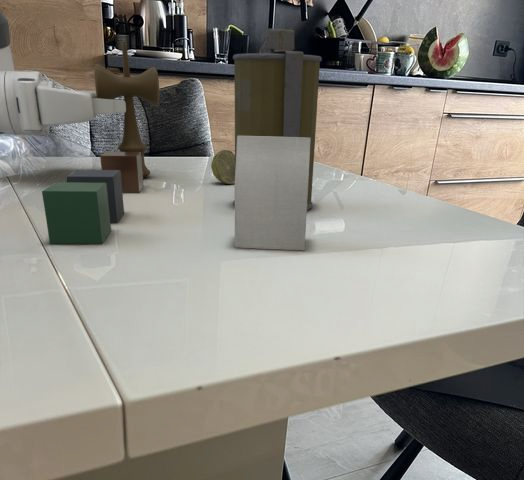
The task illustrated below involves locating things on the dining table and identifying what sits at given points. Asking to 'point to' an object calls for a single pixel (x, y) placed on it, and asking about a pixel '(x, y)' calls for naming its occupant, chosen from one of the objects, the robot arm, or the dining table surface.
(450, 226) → the dining table surface
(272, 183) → the light grey block
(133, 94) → the kendama
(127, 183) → the walnut block
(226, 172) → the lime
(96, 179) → the slate block
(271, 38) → the canister
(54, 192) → the forest green block
